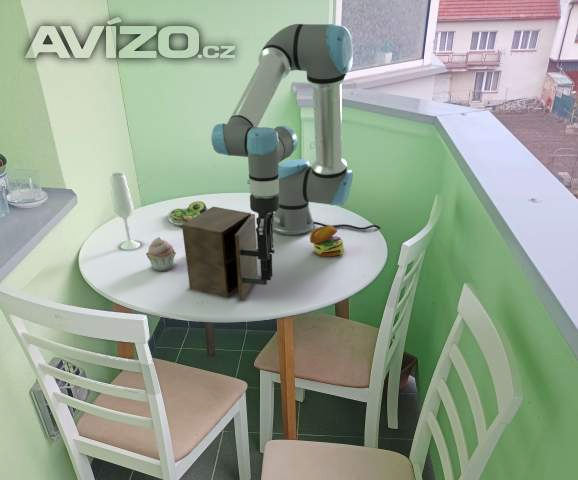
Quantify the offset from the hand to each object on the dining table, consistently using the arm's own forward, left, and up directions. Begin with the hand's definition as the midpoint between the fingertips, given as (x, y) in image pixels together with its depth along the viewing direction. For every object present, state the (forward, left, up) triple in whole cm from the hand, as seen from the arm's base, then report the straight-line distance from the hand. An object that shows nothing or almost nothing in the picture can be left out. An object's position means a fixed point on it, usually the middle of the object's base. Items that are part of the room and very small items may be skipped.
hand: (266, 277), depth 160 cm
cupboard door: (+1, -7, -7) cm, 9 cm away
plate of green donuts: (+15, -69, -7) cm, 71 cm away
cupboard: (+11, -14, -7) cm, 19 cm away
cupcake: (+28, -29, -7) cm, 41 cm away
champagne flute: (+38, -49, -7) cm, 63 cm away
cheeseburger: (-26, -27, -7) cm, 38 cm away
